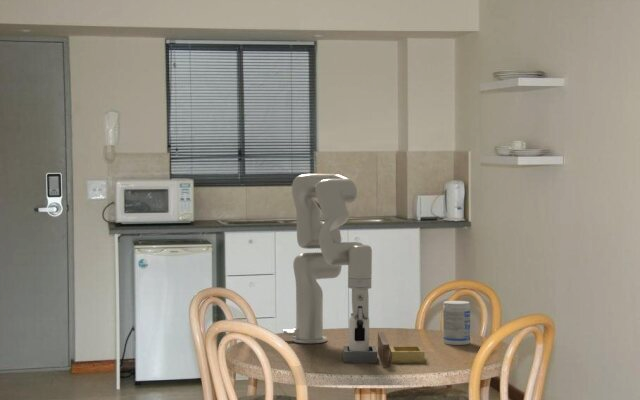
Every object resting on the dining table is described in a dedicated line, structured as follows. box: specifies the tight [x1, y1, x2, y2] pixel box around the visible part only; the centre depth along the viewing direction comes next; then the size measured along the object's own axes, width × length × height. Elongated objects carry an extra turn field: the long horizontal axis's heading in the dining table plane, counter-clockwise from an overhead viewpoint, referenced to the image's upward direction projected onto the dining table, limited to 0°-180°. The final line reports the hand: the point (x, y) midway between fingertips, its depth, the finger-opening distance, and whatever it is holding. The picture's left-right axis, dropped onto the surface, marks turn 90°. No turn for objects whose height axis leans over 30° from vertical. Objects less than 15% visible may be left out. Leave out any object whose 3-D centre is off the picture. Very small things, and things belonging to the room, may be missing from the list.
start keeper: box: [342, 345, 378, 364], centre depth 313 cm, size 10×10×4 cm
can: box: [348, 312, 370, 351], centre depth 313 cm, size 6×6×12 cm
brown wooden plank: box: [377, 331, 390, 368], centre depth 313 cm, size 2×24×7 cm, turn 0°
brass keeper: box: [389, 345, 425, 364], centre depth 313 cm, size 10×10×4 cm
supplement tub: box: [442, 300, 471, 346], centre depth 343 cm, size 10×10×15 cm
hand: (359, 338), depth 313 cm, fingers closed on can, 6 cm apart
